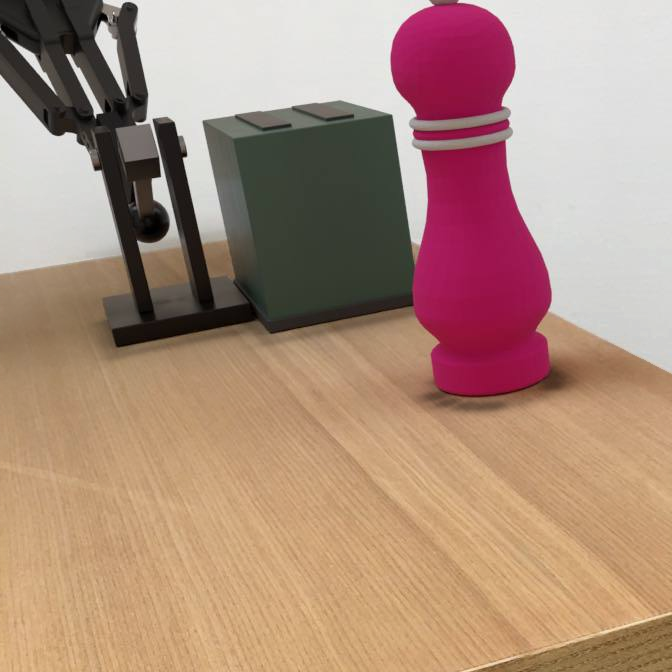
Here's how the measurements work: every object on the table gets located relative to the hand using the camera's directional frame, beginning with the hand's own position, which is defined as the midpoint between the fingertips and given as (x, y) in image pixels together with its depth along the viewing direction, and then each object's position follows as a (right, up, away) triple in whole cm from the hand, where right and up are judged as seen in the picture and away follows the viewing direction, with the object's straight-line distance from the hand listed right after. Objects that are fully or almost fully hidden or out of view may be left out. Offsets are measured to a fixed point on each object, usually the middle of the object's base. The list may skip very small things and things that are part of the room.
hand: (140, 193), depth 89 cm
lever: (+2, -3, -5) cm, 6 cm away
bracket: (+4, -10, -5) cm, 12 cm away
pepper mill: (+27, -17, -24) cm, 39 cm away
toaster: (+14, -8, -3) cm, 17 cm away
